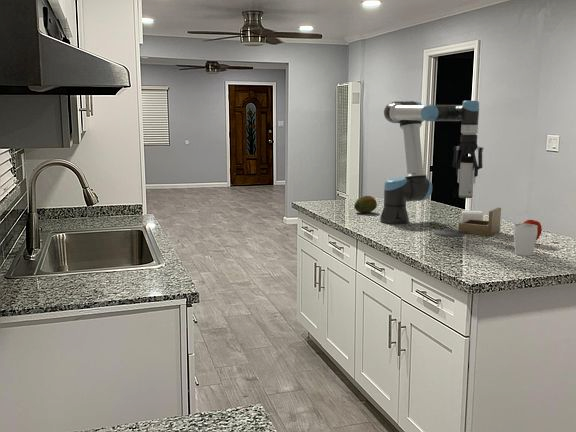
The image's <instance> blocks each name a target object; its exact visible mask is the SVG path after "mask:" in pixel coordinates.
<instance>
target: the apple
mask: <svg viewBox="0 0 576 432" xmlns="http://www.w3.org/2000/svg"><path fill="white" fill-rule="evenodd" d="M522 224H533V225H537V238H536V241H537V240H538V239H539V238H540V236H541V235H542V232H543V231H542V230H543V228H542V224H541V222H539V221H538V220H535V219H527V220H525V221H523V223H522Z"/></svg>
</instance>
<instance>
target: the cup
mask: <svg viewBox="0 0 576 432" xmlns="http://www.w3.org/2000/svg"><path fill="white" fill-rule="evenodd" d="M536 238H537V225H533V224H523V223H515V224H514V225H513V243H514V244H513V245H514V253H515V255H516V256H520V255H521V256H523V257H531V256H533V254H534V251H535V246H536V242H537V240H536Z"/></svg>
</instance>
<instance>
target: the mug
mask: <svg viewBox="0 0 576 432" xmlns="http://www.w3.org/2000/svg"><path fill="white" fill-rule="evenodd" d="M483 213H484V212H483V211H482V210H461V212H460V215H461V216H460V222H463V221H465V220H467V219H474V220H484V214H483Z"/></svg>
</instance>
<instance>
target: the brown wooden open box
mask: <svg viewBox="0 0 576 432" xmlns="http://www.w3.org/2000/svg"><path fill="white" fill-rule="evenodd" d="M501 217H502V208H501V207H496V208H494V209H491V210H489V211H488V220H484V219H483V220H474V219H467V220H465V221H463V222H461V221H460V222H459V223H458V231H459V232H460V233H465V235H470V236H478V237H480V236H481V237H489V238H491V237H493V236H495V235H498V234H499V233H500V232H501V220H502V219H501Z"/></svg>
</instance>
